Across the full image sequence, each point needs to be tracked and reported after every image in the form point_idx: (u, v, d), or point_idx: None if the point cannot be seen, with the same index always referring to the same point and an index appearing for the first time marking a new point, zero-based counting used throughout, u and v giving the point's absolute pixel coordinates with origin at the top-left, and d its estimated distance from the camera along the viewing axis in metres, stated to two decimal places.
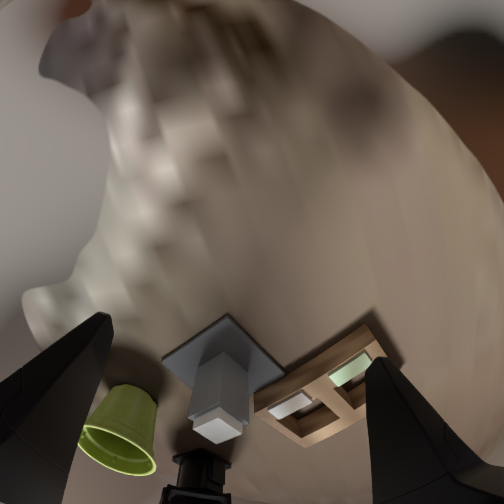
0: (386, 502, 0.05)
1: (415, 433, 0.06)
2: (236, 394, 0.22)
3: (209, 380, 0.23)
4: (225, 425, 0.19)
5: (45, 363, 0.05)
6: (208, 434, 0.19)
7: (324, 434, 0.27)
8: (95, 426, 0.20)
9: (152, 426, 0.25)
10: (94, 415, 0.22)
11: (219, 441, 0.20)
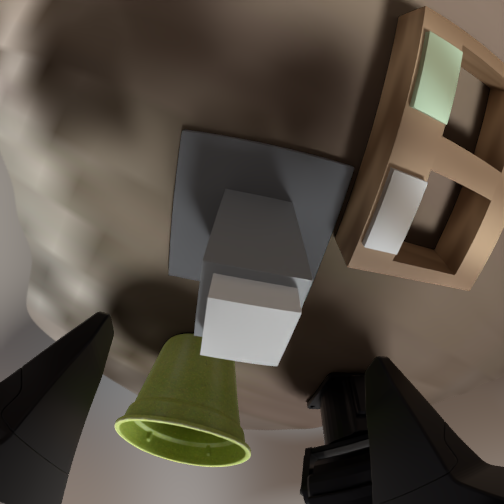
0: (386, 502, 0.05)
1: (415, 433, 0.06)
2: (262, 235, 0.11)
3: None
4: (243, 310, 0.08)
5: (45, 363, 0.05)
6: (237, 352, 0.09)
7: (484, 249, 0.13)
8: (121, 419, 0.14)
9: (220, 380, 0.18)
10: None
11: (275, 357, 0.10)
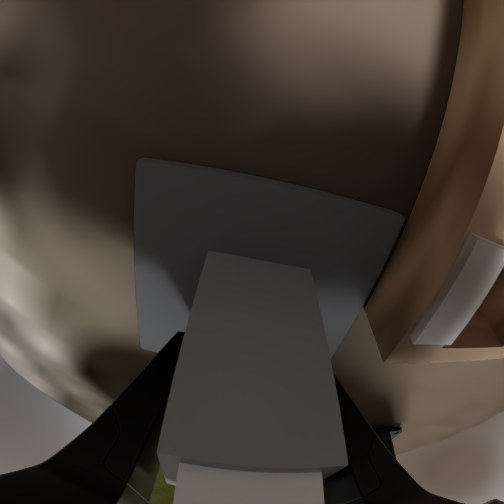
0: None
1: None
2: (265, 369, 0.06)
3: None
4: None
5: (139, 396, 0.05)
6: None
7: None
8: None
9: None
10: None
11: None
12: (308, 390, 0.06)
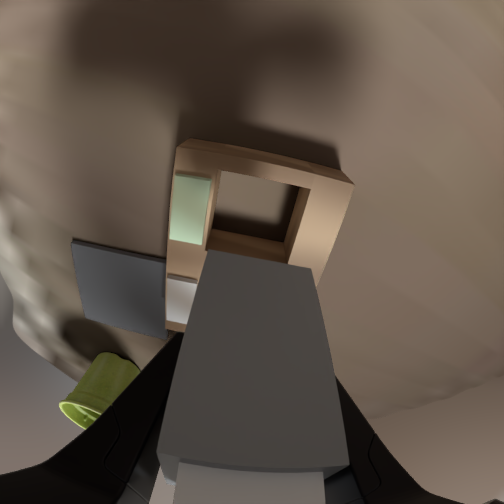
0: None
1: None
2: (266, 367, 0.06)
3: None
4: None
5: (140, 396, 0.05)
6: None
7: None
8: (60, 402, 0.21)
9: (119, 385, 0.25)
10: None
11: None
12: (309, 389, 0.06)
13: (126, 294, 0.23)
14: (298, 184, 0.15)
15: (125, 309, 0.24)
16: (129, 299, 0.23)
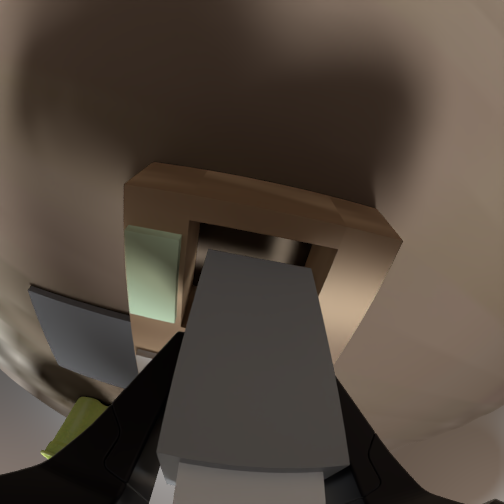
0: None
1: None
2: (266, 368, 0.06)
3: None
4: None
5: (140, 396, 0.05)
6: None
7: None
8: (41, 452, 0.16)
9: None
10: None
11: None
12: (309, 389, 0.06)
13: (97, 349, 0.17)
14: (319, 242, 0.10)
15: (98, 363, 0.18)
16: (101, 354, 0.18)
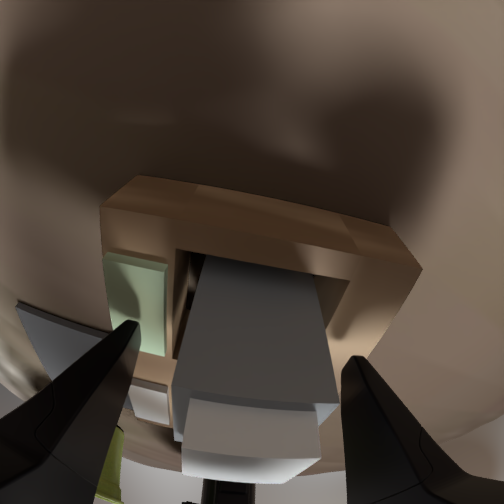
0: None
1: (388, 437, 0.06)
2: (265, 320, 0.07)
3: None
4: (236, 459, 0.05)
5: (77, 376, 0.05)
6: (229, 477, 0.06)
7: None
8: None
9: None
10: None
11: (280, 480, 0.06)
12: (302, 339, 0.07)
13: None
14: (329, 273, 0.08)
15: None
16: None
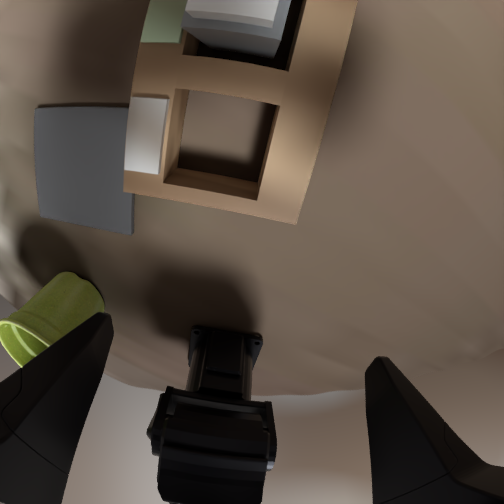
0: (386, 502, 0.05)
1: (415, 433, 0.06)
2: None
3: None
4: None
5: (45, 363, 0.05)
6: None
7: (295, 167, 0.14)
8: None
9: (70, 306, 0.19)
10: None
11: (269, 5, 0.06)
12: None
13: (86, 165, 0.17)
14: None
15: (83, 190, 0.18)
16: (88, 172, 0.17)
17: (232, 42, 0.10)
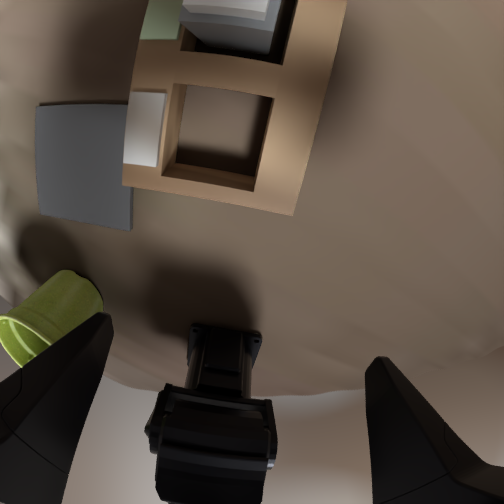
0: (386, 502, 0.05)
1: (415, 433, 0.06)
2: None
3: None
4: None
5: (45, 363, 0.05)
6: None
7: (290, 158, 0.14)
8: None
9: (68, 303, 0.19)
10: None
11: None
12: None
13: (85, 161, 0.17)
14: None
15: (82, 186, 0.18)
16: (88, 169, 0.17)
17: (228, 37, 0.10)
